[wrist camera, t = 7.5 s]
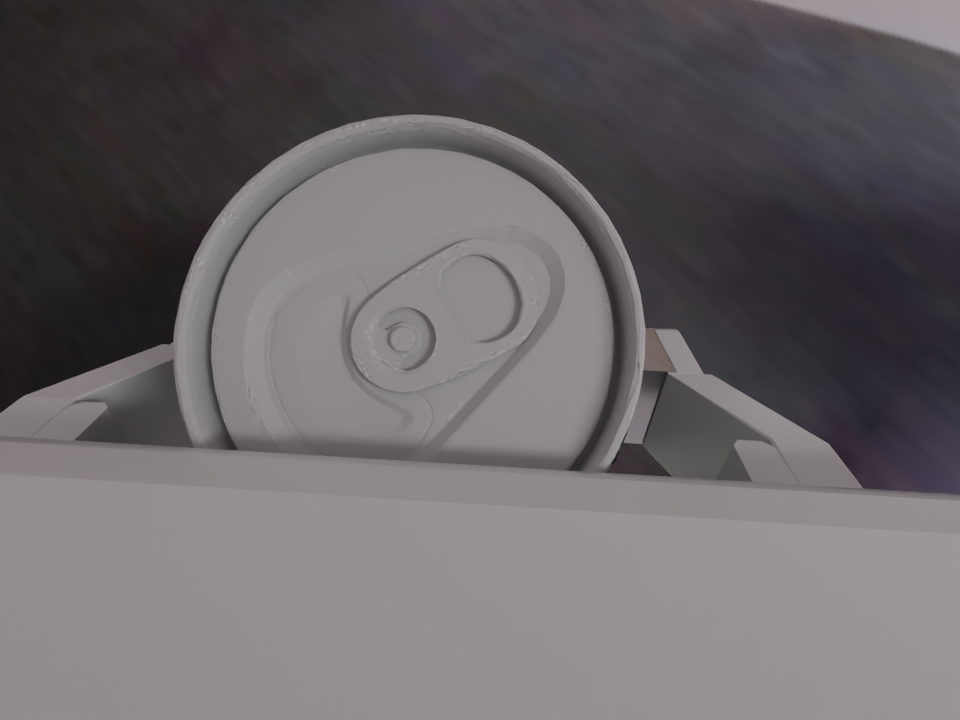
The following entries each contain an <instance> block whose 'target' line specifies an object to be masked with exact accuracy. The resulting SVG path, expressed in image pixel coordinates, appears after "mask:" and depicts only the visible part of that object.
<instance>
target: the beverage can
mask: <svg viewBox="0 0 960 720" xmlns="http://www.w3.org/2000/svg"><path fill="white" fill-rule="evenodd" d="M644 360H645V322H644V315H643V308H642V301H641V294H640V291H639V287H638V283H637V280H636V276H635V272H634V269H633V266H632V263H631V261H630V259H629V256H628V254H627V252H626V249H625V247H624V245H623V242H622V240H621V238H620V236H619V235H618V233H617V231H616V229H615V228H614V226H613V224H612V222H611V221H610V219H609V217H608V215H607V214H606V213H605V212H604V210H603V209H602V208H601V207H600V205H599V204H598V203H597V202H596V200H595V199H594V198H593V196H592V195H591V194H590V193H589V191H588V190H587V189H586V188H585V187H584V186H583V185H582V184H581V183H580V182H579V181H578V180H576V179H575V178H574V177H573V176H572V175H571V174H570V173H569V172H568V171H567V170H566V169H565V168H564V167H562V166H561V165H560V164H558V163H557V162H556V161H554V160H553V159H552V158H550V157H549V156H548V155H546V154H545V153H544V152H542V151H540V150H538V149H537V148H535V147H533V146H532V145H530V144H528V143H527V142H525V141H523V140H521V139H519V138H517V137H514V136H512V135H509V134H507V133H505V132H502V131H500V130H497V129H495V128H493V127H489V126H485V125H482V124H478V123H474V122H470V121H467V120H463V119H459V118H452V117H445V116H437V115H399V116H388V117H378V118H373V119H369V120H364V121H359V122H355V123H350V124H347V125H344V126H341V127H338V128H335V129H332V130H329V131H327V132H324V133H322V134H320V135H318V136H315V137H313V138H311V139H309V140H307V141H305V142H303V143H301V144H299V145H297V146H296V147H294V148H293V149H291V150H289V151H288V152H286V153H285V154H283V155H281V156H280V157H278V158H277V159H275V160H273V161H272V162H271V163H270V164H268V165H267V166H266V167H265V168H263V169H262V170H261V171H260V172H259V173H257V174H256V175H255V176H254V177H253V178H251V179H250V180H249V181H248V182H247V183H246V184H245V185H244V186H243V187H242V188H241V189H240V190H239V191H238V192H237V193H236V195H235V196H234V197H233V198H232V199H231V200H230V201H229V202H228V204H227V205H226V206H225V208H224V209H223V210H222V212H221V213H220V214H219V216H218V217H217V218H216V220H215V221H214V223H213V224H212V226H211V227H210V229H209V230H208V232H207V234H206V235H205V237H204V238H203V240H202V242H201V244H200V246H199V248H198V250H197V252H196V254H195V256H194V258H193V261H192V264H191V267H190V269H189V272H188V275H187V278H186V280H185V283H184V286H183V289H182V292H181V297H180V302H179V307H178V312H177V317H176V321H175V329H174V375H175V384H176V391H177V396H178V401H179V406H180V411H181V414H182V417H183V420H184V423H185V426H186V429H187V432H188V435H189V437H190V440H191V442H192V445H193V447H194V448H206V449H222V450H239V451H255V452H271V453H288V454H304V455H320V456H337V457H353V458H370V459H386V460H402V461H419V462H435V463H451V464H468V465H484V466H501V467H517V468H534V469H550V470H567V471H583V472H600V473H608V471H609V470H610V468H611V466H612V465H613V463H614V462H615V460H616V458H617V455H618V453H619V451H620V449H621V446H622V444H623V442H624V440H625V437H626V435H627V432H628V429H629V425H630V422H631V420H632V417H633V414H634V411H635V407H636V404H637V401H638V397H639V393H640V388H641V382H642V375H643V368H644Z"/></svg>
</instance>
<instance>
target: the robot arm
mask: <svg viewBox="0 0 960 720" xmlns="http://www.w3.org/2000/svg"><path fill="white" fill-rule="evenodd" d="M624 443H636V444H643V447H644V448H645V449H646V450H647V451H648V452H649V453H650V454H651V455H652V456H653V457H654V458H655V459H656V460H657V461H658V462H659V463H660V464H661V465H662V466H663V467H664V468H665V469H666V471H667V472H668V473H669V474H670V475H671V476H672V477H665V476H649V475H632V474H616V473H600V472H583V471H567V470H550V469H534V468H517V467H501V466H484V465H468V464H451V463H435V462H419V461H402V460H386V459H370V458H353V457H337V456H320V455H304V454H288V453H271V452H255V451H239V450H222V449H206V448H194V447H193V445H192V442H191V440H190V437H189V435H188V432H187V429H186V426H185V423H184V420H183V417H182V414H181V411H180V406H179V401H178V396H177V391H176V384H175V375H174V341H173V342H172V343H171V344H170V345H166V344H162V345H159V346H156V347H154V348H151V349H148V350H146V351H143V352H140V353H138V354H135V355H132V356H129V357H127V358H124V359H121V360H119V361H116V362H113V363H111V364H108V365H105V366H103V367H100V368H97V369H95V370H92V371H89V372H87V373H84V374H81V375H78V376H76V377H73V378H70V379H68V380H65V381H62V382H60V383H57V384H54V385H52V386H49V387H46V388H44V389H41V390H38V391H35V392H33V393H30V394H27V395H25V396H23V397H21V398H20V399H19V400H17V401H16V402H15V403H13V404H12V405H11V406H9V407H8V408H7V409H5V410H4V411H3V412H1V413H0V720H960V494H943V493H927V492H911V491H894V490H878V489H863V487H862V486H861V485H860V484H859V482H858V481H857V480H856V478H855V477H854V476H853V475H852V473H851V472H850V471H849V469H848V468H847V467H846V465H845V464H844V463H843V462H842V460H841V459H840V458H839V456H838V455H837V454H836V453H835V451H834V450H833V449H832V447H831V446H830V445H829V444H828V443H826V442H825V441H823V440H821V439H820V438H818V437H816V436H815V435H813V434H811V433H810V432H808V431H806V430H804V429H803V428H801V427H799V426H798V425H796V424H794V423H793V422H791V421H789V420H788V419H786V418H784V417H782V416H781V415H779V414H777V413H776V412H774V411H772V410H771V409H769V408H767V407H766V406H764V405H762V404H760V403H759V402H757V401H755V400H754V399H752V398H750V397H749V396H747V395H745V394H744V393H742V392H740V391H738V390H737V389H735V388H733V387H732V386H730V385H728V384H727V383H725V382H723V381H722V380H720V379H718V378H716V377H715V376H713V375H709V374H704V373H703V372H702V370H701V368H700V367H699V365H698V363H697V361H696V360H695V358H694V356H693V354H692V353H691V351H690V349H689V348H688V346H687V344H686V342H685V341H684V339H683V337H682V336H681V334H680V332H679V331H678V330H676V329H658V328H645V360H644V368H643V375H642V382H641V388H640V393H639V397H638V401H637V404H636V407H635V411H634V414H633V417H632V420H631V422H630V425H629V429H628V432H627V435H626V437H625V440H624Z"/></svg>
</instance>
